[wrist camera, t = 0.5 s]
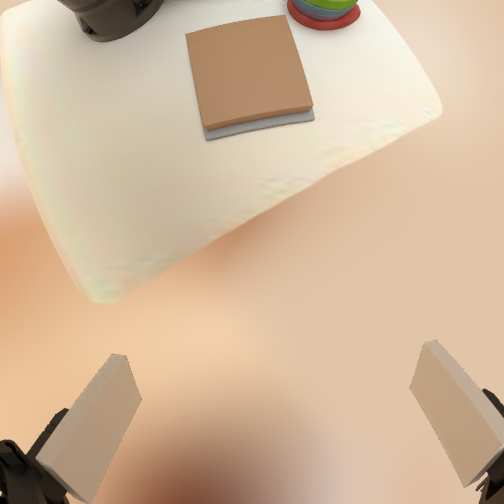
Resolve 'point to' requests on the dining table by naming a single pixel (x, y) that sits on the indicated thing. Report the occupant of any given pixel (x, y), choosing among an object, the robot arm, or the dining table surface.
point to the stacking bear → (324, 13)
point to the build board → (248, 76)
